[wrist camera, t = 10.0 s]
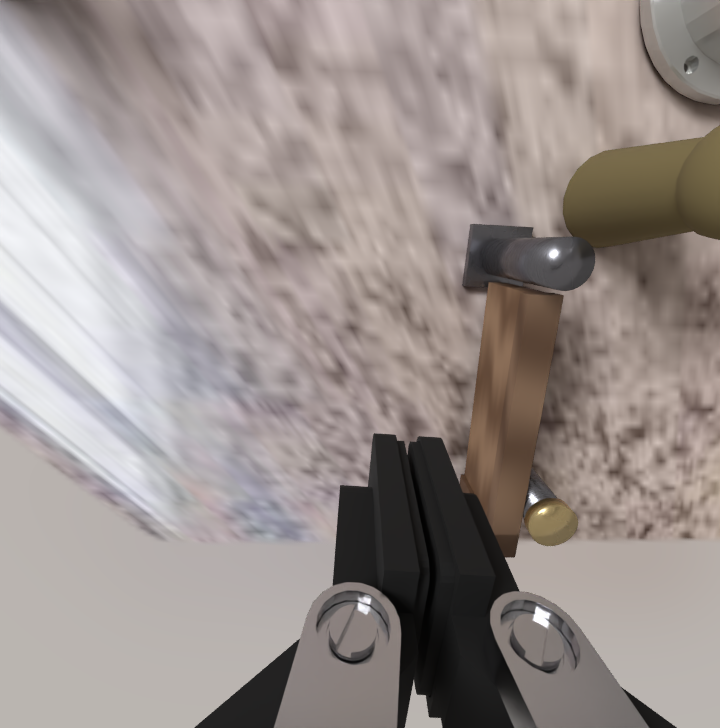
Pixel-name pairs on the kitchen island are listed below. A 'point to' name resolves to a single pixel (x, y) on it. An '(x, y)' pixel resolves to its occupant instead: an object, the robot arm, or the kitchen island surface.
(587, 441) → the kitchen island surface
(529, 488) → the grey upright posts
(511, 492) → the brown wooden plank
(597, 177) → the olive rounded lobed piece
